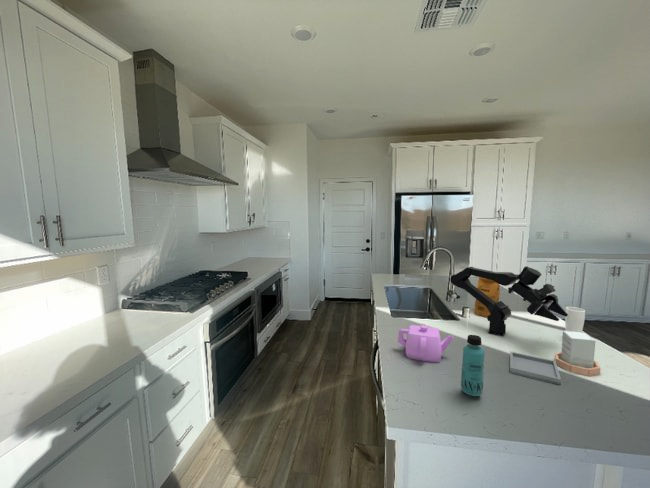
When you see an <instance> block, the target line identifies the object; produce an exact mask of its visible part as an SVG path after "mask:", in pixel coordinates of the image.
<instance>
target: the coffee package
mask: <svg viewBox="0 0 650 488" xmlns="http://www.w3.org/2000/svg"><path fill="white" fill-rule="evenodd" d="M476 288H478V289H479V290H480V291H482V292H483V293H484V294H486V295H487V296H488V297H489V298H491V299H492V300H493V301H495V302H499V301H500V292H501V291H500V284H498V283H496V282H494V281H493V280H490V279H485V278H481V277H478V280H477V286H476ZM473 313H474V315H475V316H482V317H483V318H487V316H489V315H490V312H489V310H488V308H487V307H486V306H484V305H483V304H482V303H481V302H479V301H478V300H477V299H476V298H475V302H474V312H473Z"/></svg>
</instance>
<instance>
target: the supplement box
mask: <svg viewBox="0 0 650 488" xmlns="http://www.w3.org/2000/svg"><path fill="white" fill-rule="evenodd" d="M561 337H562V339H561V351H560V352H561V359H560V360H562V361H564V362H566V363H568V364H570V365H574V366H578V367H583V368H593V364H594V361H595V352H596V351H595V350H596V349H595V348H596V340H595V339H594V338H593V337H592V336H590V335H589V334H587V333H586V332H583V331H582V332H571V331H566V330H562V336H561Z"/></svg>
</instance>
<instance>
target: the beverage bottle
mask: <svg viewBox="0 0 650 488" xmlns="http://www.w3.org/2000/svg"><path fill="white" fill-rule="evenodd" d="M466 342H467V344H465V345H464V346H463V347H462V363H461V370H460V371H461V374H460V388H461V391H463V393H465V394H467V395H469V396H473V397H478V396H479V397H480V396H481V395H482V394H483V390H484V389H483V387H484V375H485V374H484V368H485V365H484V363H485V353H486V352H485V350H484V348H483V347H481V345H482V337H480V336H479V335H476V334H468V336H467V340H466Z"/></svg>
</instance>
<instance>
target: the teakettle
mask: <svg viewBox="0 0 650 488" xmlns="http://www.w3.org/2000/svg"><path fill="white" fill-rule="evenodd" d="M404 334H406V335H407V336H406V338H404ZM397 338H398V339H397V342H398V343H399V344H400V345H402V346H403V347H405V354H406V357H407V358H408V359H413V360H416V361H421V362H422V361H423V362H431V363H440V362H441V359H442V354H443V353H444V352H445V350H446V349H447V348H448V346H449V345H451V342H452V341H453V340H454V336H453V335H449V334H448V336H447V337H446V338H444V339H443V340H441V335H440V329H439V328H437V327H433V326H427V325H426V324H423V323H422V324H421V325H417V324H416V325H415V324H412V325H411V324H410V325H409V328H402V327H401V328H399V330H398V337H397Z"/></svg>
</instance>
